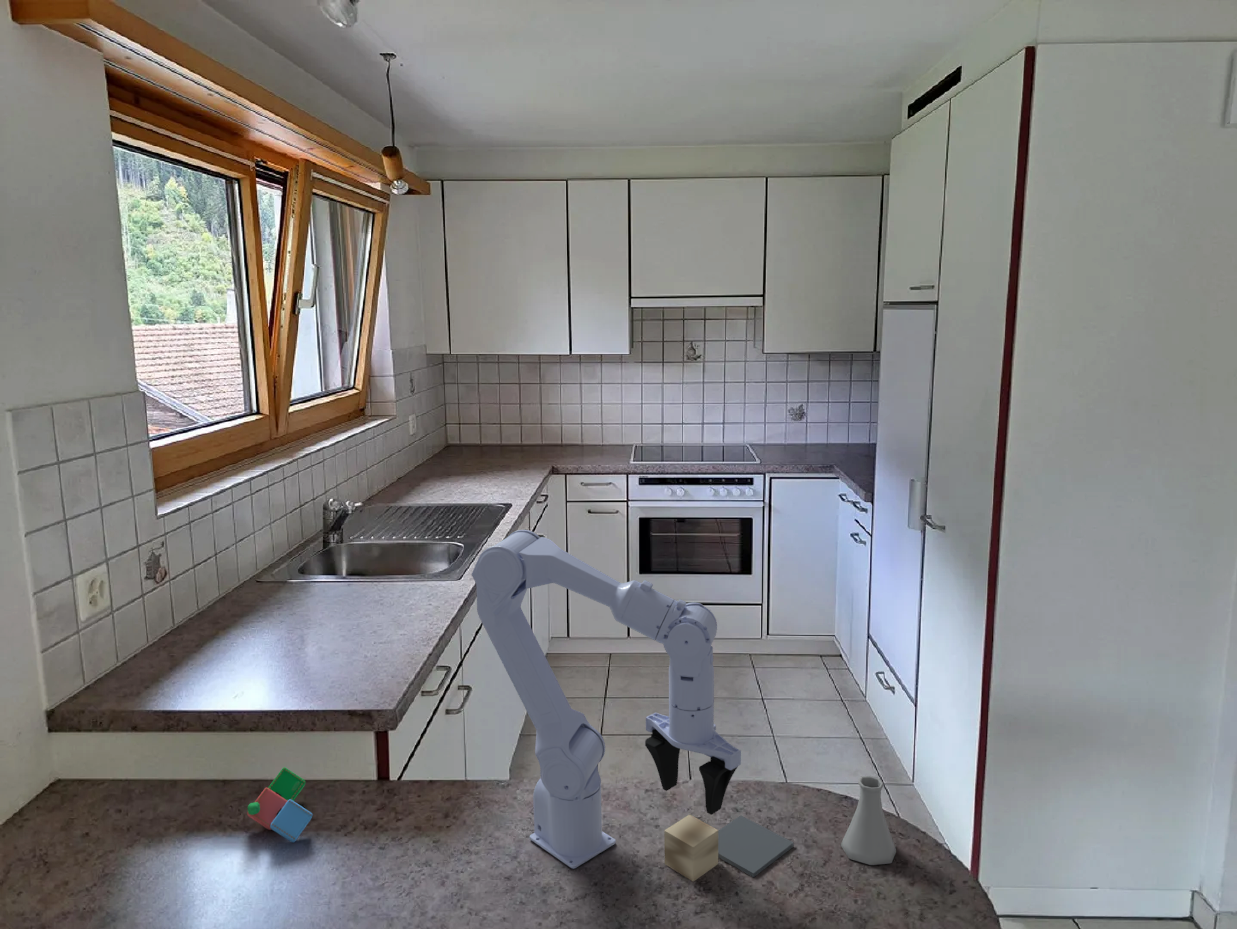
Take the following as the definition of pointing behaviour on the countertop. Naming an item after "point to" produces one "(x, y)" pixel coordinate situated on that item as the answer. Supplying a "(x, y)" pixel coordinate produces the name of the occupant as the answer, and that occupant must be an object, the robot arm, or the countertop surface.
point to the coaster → (750, 845)
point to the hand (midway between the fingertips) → (691, 798)
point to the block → (691, 847)
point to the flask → (869, 827)
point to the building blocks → (281, 806)
